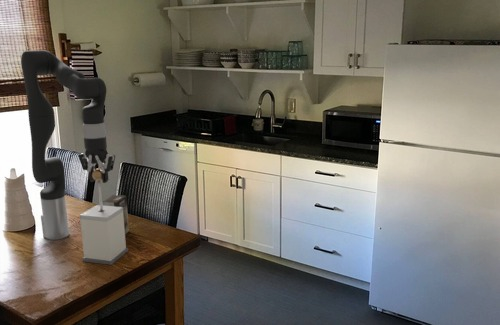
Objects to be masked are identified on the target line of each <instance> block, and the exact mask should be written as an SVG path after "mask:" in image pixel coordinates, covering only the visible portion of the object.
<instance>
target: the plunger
mask: <svg viewBox="0 0 500 325" xmlns="http://www.w3.org/2000/svg"><path fill="white" fill-rule="evenodd" d="M92 177H93V179H95V181H97V188H98V202H99V205H100V212H103V196H102V184H101V183H102V170H101V168H100V167H99V168H94V170H93V172H92Z"/></svg>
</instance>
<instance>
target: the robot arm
mask: <svg viewBox="0 0 500 325" xmlns="http://www.w3.org/2000/svg"><path fill="white" fill-rule="evenodd" d="M20 65H21V71H22V76H23V81H24V87H25V91H26V92H25V94H26V99H27V100H26V101H27V110H28V112H27V113H28V114H27V115H28V122H29V124H28V125H29V129H30V137H31V138H30V139H31V168H32V169H31V171H32V175H33V178H34V180H35V182H37V183H39V184H45V183H48V182H49V183H48V184H47V185H46V186H45V187H44V188H42V189H41V190H40V192H39V195H40V204H41V210H42V211H41V212H42V215H40V222H41V230H42V236H43V238H45V239H47V240H49V241H54V240H55V241H57V240H62V239H65V238H67V237H68V236H69V235H70V228H69V221H68V210H67V202H66V192H65V191H66V179H65V176H66V175H65V173H66V172H65V167H64V162H63V161H62V159H61V158H60V157H57V156H53V157H48V158H46V149H47V145H48V144H49V142H50V139H51V138H52V135H53V134H54V131H55V128H56V118H55V110H54V108H53V105H52V104H51V102H50V101H49V100H48V98H47V97H46V96H45V94H44V93H43V91H42V90H41V88H40V85H39V80H38V77H39V76H48V75H53V76H55V78H56V80H57V82H58V83H59V84H60V85H61V86H63V87H65V88H67V89H68V90H70V91H71V93H73V94H74V96H75V97H76V98H78V99H79V100H85V101H86V100H91V102H90V103H89V104H88V105H86V106H83V107H82V109H81V117H82V134H83V143H84V149H85V151H84V152H82V153H80V154H78V155H77V157H78V159H79V162H80V164H81V167H82V170H83V171H86V172H87V173H88V179H89V182H91V183H93V182H95V181H96V180H95V179H93V177H92V172H93V171H94V170H95V168H96V165H97V166H98V167H99V169H101V170H102V180H101V183H102V184H106V183H108V181H109V172H111V171H113V170H114V166H115V165H114V164H115V160H116V155H115V154H109V152H108V151H107V150H108V149H107V148H108V145H107V142H108V141H107V133H106V124H105V120H104V119H105V117H104V107H105V101H106V97H107V96H106V95H107V85H106V83H105V81H104V79H102V78H100V77H91V78H89V77H88V78H87V77H86V76H85V74H84V73H82V72H80V71H78V70H76V69H74V68H72V67H70V66H68V65H67V64H66V63H64V62H63V61H62V60H60V59H59V58H58V57H57V56H56V55H55V54H53V53H52V52H50V51H48V50H44V49H42V50H40V49H39V50H24V51H23V52H22V54H21V57H20Z"/></svg>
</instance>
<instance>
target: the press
mask: <svg viewBox="0 0 500 325" xmlns="http://www.w3.org/2000/svg"><path fill="white" fill-rule="evenodd" d="M79 221H80V222H79V223H80V230H81V240H82V241H81V242H82V249H83V257H81V258H82V259H81V260H82V262H85V263H86V262H87V263H93V264H94V263H95V264H102V265H103V264H104V265H110V266H112V265H113V264H114V263H115V262H117V261H118V260H119V259H120V258H121V257H123V256H124V255H125V254H126V253H127V252H129V247H127V243H126V234H125V229H124V217H123V207H114V206H103V212H100V204H97V205H95V206H92V207H91V208H89V209H88V210H86V211H84V212H82V213H81V214H79Z"/></svg>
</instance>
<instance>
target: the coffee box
mask: <svg viewBox="0 0 500 325" xmlns="http://www.w3.org/2000/svg"><path fill="white" fill-rule="evenodd" d="M102 204H103V206H114V207H123V217H124V229H125V235H126V234H127V233H129V230H130V228H129V215H128V200H127V195H119V194H118V195H116V194H115V195H114V194H113V195H111V196H109V197H108V198H106V199H105V200H102Z"/></svg>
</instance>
